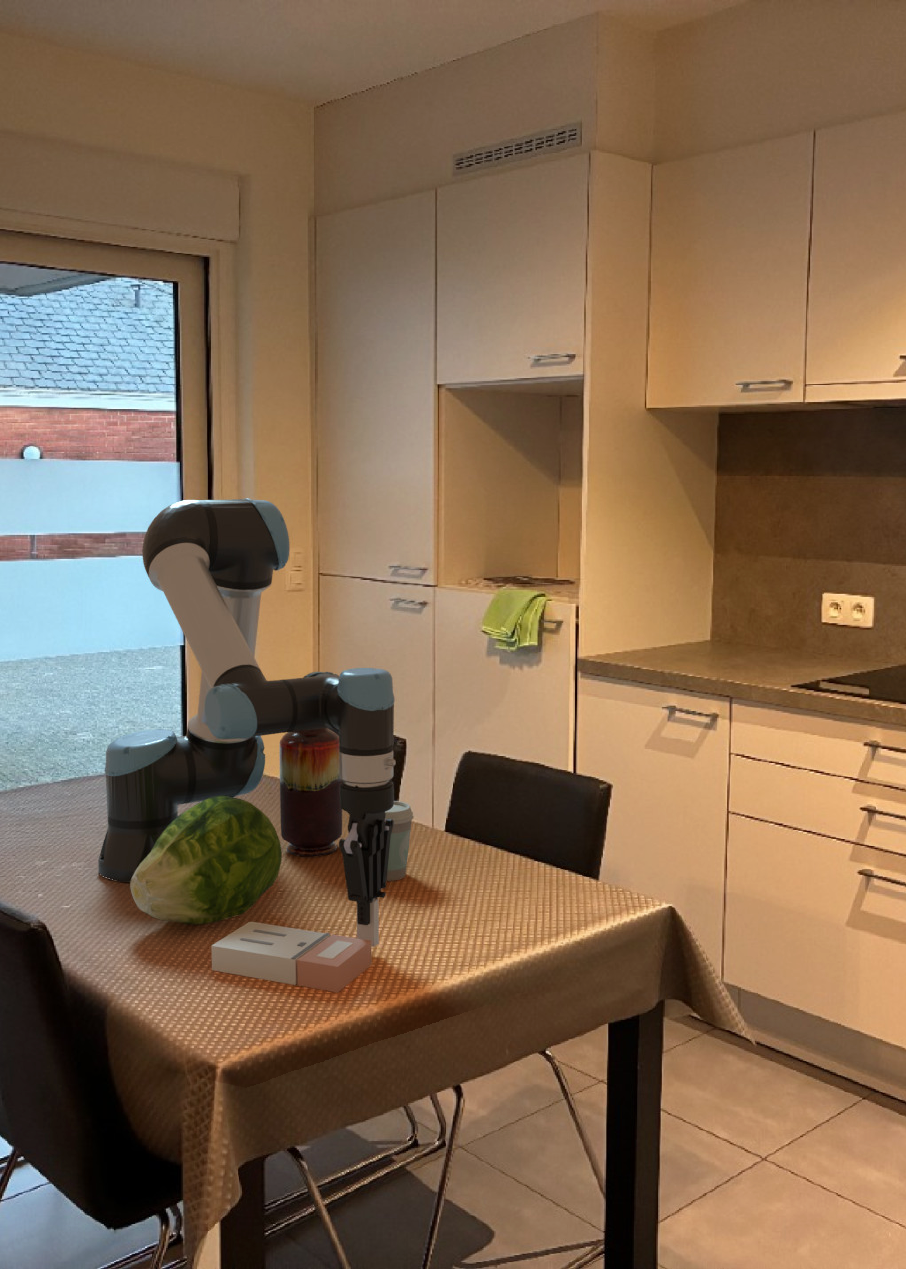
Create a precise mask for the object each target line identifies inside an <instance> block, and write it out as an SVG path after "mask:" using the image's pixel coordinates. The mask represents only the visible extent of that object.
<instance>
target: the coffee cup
mask: <svg viewBox="0 0 906 1269" xmlns="http://www.w3.org/2000/svg"><path fill="white" fill-rule="evenodd" d="M385 814H386V816H385V818H386V819H392V820H393V821H394V824H393V829H392V833H391V838H390V849H389V860H388V870H387V881H386V882H392V881H394V882H395V881H399V880H402V879H403V878H405V877H406V876H407V875H406V873H407V867H408V857H409V847H410V839H411V830H412V828H411V827H412V820H414V812H413V811H412V808H411V805H410V804H409V803H407V802H405V801H398V800H394V805H393V807H392V808H391V809H390V810H388V811H385Z"/></svg>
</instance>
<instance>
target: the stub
mask: <svg viewBox="0 0 906 1269" xmlns="http://www.w3.org/2000/svg"><path fill="white" fill-rule="evenodd" d="M371 966H372V947H371V940H365V939H358V938H357V937H352V936H344V935H338V934H334V933H333V934H331V936H330V937H328V938H327V939H326V940H324V941H323V942H321V943H320V944H319V945H317V946H316V947H315V948H313V949H312V950H310V951H309V952H308V953H306V954H305V955H303V956H302V957H301V958H299V959H298V960H297V978H298V984H297V986H300V987H305V988H310V989H315V990H316V989H317V990H320V991H321V990H322V991H327V992H333V993H339V992H341V991H342V990H343V989H345V987H347V986H348V985H349V984H350V983H351V982H353V980H355V979H356V978H357V977H359V976H360V975H361V974H362V973H364V972H365V971H366V970H367V969H368V968H370V967H371Z"/></svg>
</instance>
